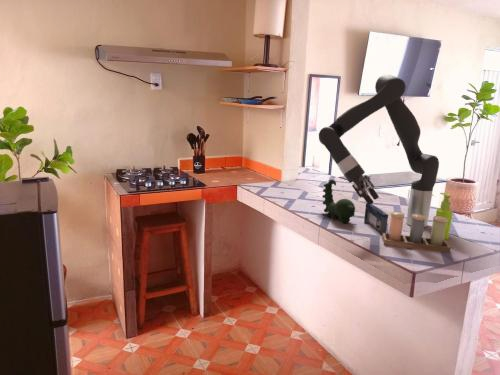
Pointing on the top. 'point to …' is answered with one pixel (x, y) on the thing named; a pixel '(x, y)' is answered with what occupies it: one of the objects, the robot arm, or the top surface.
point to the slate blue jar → (417, 228)
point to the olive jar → (438, 230)
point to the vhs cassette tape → (376, 218)
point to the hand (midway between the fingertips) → (374, 201)
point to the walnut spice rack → (416, 244)
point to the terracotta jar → (396, 226)
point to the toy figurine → (337, 205)
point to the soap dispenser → (445, 213)
